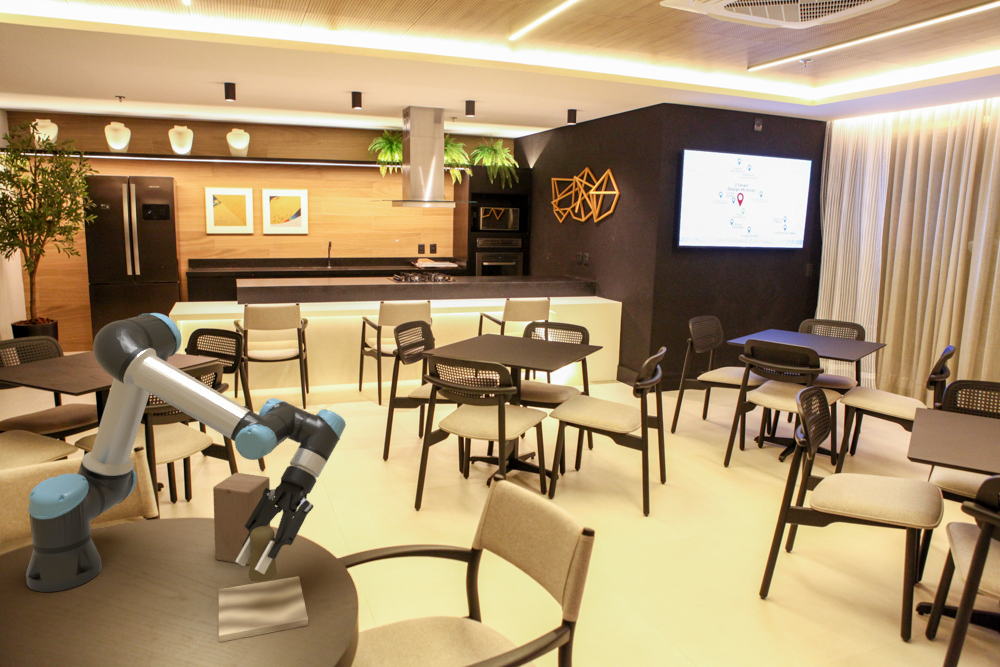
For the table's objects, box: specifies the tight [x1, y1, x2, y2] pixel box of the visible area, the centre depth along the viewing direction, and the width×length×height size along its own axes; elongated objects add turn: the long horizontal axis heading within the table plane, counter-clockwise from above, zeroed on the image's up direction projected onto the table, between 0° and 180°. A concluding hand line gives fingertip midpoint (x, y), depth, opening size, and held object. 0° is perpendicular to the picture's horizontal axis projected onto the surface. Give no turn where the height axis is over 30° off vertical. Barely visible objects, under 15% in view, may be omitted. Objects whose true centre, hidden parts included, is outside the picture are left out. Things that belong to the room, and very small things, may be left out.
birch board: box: [218, 576, 309, 643], centre depth 150 cm, size 18×18×2 cm
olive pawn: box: [248, 526, 278, 583], centre depth 147 cm, size 6×6×11 cm
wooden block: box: [212, 472, 271, 566], centre depth 171 cm, size 10×10×20 cm
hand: (249, 567), depth 145 cm, fingers closed on olive pawn, 5 cm apart
